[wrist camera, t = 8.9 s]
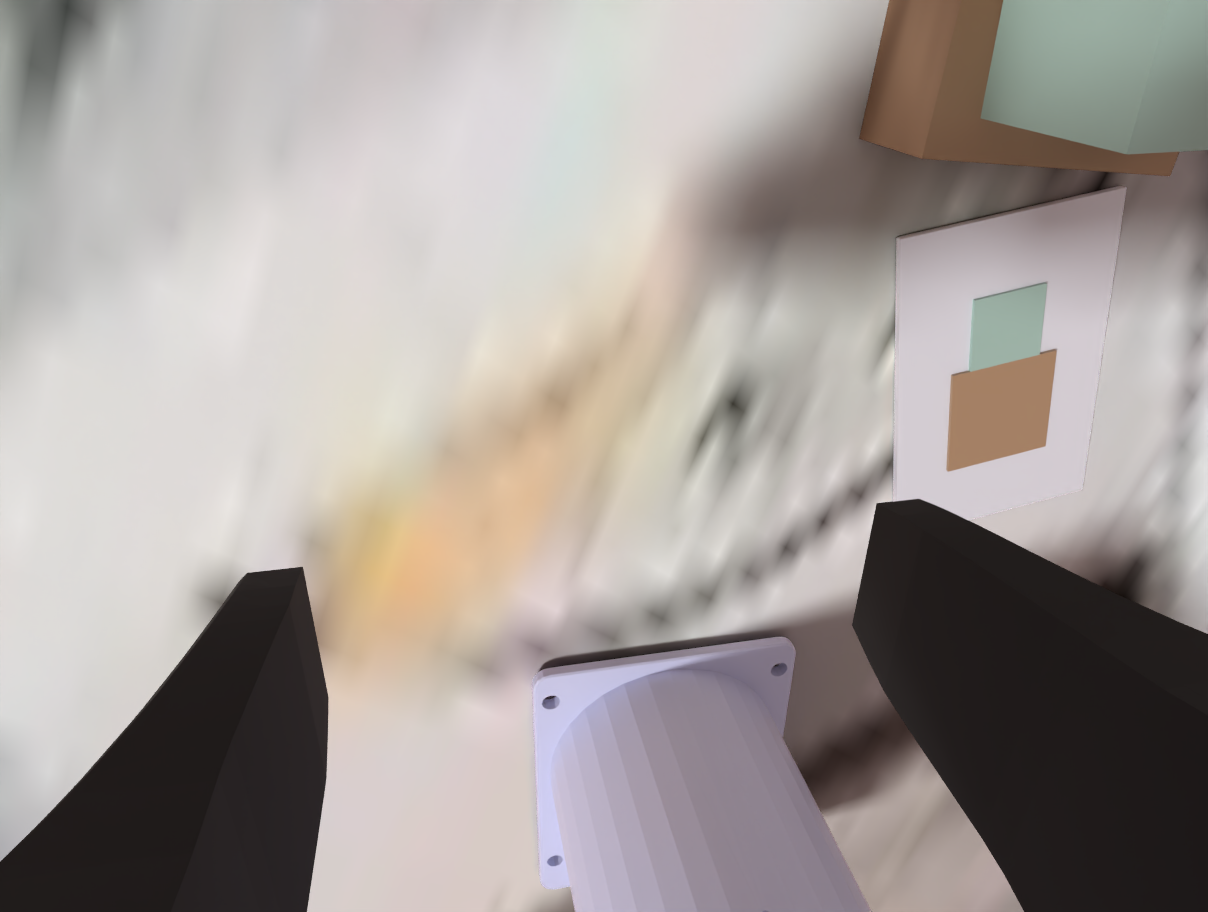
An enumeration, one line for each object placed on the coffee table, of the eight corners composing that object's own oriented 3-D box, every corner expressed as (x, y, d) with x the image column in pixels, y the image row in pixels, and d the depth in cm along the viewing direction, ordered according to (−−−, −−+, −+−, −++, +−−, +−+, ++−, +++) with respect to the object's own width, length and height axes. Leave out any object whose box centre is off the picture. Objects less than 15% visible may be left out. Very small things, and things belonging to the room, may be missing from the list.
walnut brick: (1075, 153, 21) (1170, 175, 18) (853, 136, 20) (921, 158, 17) (1171, -141, 18) (1299, -163, 16) (921, -184, 17) (1015, -216, 14)
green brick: (1155, 110, 18) (1336, 143, 14) (980, 118, 17) (1126, 154, 14) (1223, -124, 16) (1452, -151, 12) (1026, -126, 15) (1213, -156, 12)
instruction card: (1077, 486, 26) (1084, 491, 26) (892, 536, 25) (897, 541, 25) (1121, 185, 21) (1130, 188, 21) (896, 237, 21) (902, 240, 20)
